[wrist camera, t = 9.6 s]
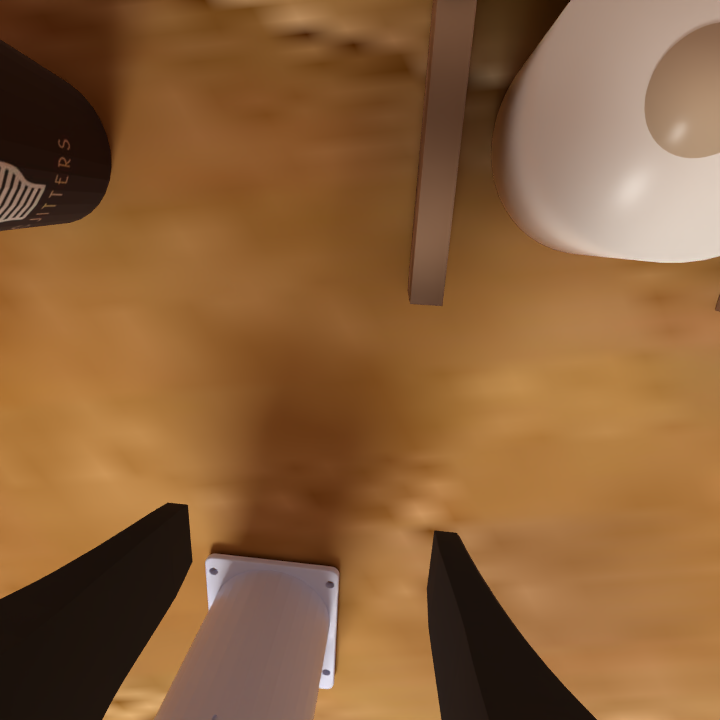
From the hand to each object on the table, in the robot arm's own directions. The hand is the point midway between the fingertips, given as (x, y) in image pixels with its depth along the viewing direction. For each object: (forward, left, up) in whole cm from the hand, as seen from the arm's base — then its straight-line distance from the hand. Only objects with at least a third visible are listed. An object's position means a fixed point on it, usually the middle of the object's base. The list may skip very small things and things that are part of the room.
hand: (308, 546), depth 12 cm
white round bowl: (+13, -10, -10) cm, 19 cm away
